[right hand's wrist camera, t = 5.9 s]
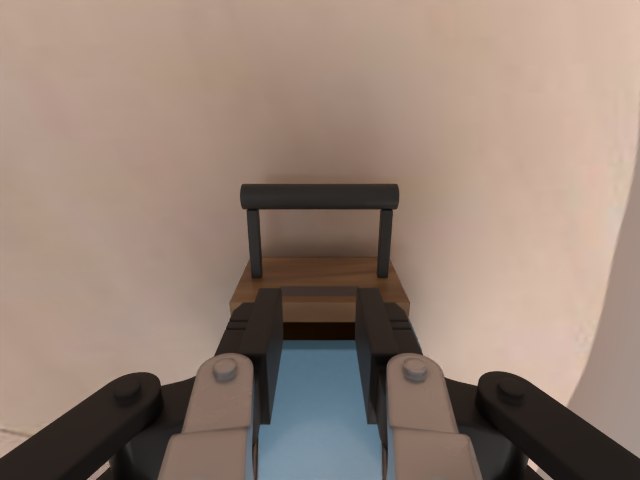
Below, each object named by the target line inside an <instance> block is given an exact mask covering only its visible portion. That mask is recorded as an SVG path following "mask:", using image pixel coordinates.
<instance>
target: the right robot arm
mask: <svg viewBox="0 0 640 480" xmlns="http://www.w3.org/2000/svg"><path fill="white" fill-rule="evenodd" d="M355 344H356V351H357V358H358V365H359V372H360V378H361V385H362V392H363V398H364V405H365V412H366V419H367V424H377V425H378V431H379V436H380V440H381V448H380V451H381V480H544V479H543V478H542V477H540V476H539V475H538V474H537V473H536V472H535V471H534V470H533V469H532V468H531V467H530V466H528V465H527V463H528V459H529V458H530V459H531V460H532V461H533V462H534V463H535V464H537V465H538V466H539V467H540V468H541V469H542V470H543V471H544V472H546V473H547V474H548V475H549V476H550V477H551V478H552V479H554V480H640V458H638V457H637V456H635V455H634V454H632V453H631V452H629V451H628V450H627V449H625V448H624V447H622V446H621V445H619V444H618V443H616V442H615V441H614V440H612V439H611V438H609V437H608V436H606V435H605V434H604V433H602V432H601V431H599V430H598V429H596V428H595V427H594V426H592V425H591V424H589V423H588V422H586V421H585V420H583V419H582V418H581V417H579V416H578V415H576V414H575V413H573V412H572V411H571V410H569V409H568V408H566V407H565V406H563V405H562V404H560V403H559V402H558V401H556V400H555V399H553V398H552V397H550V396H549V395H547V394H546V393H545V392H543V391H542V390H540V389H539V388H537V387H536V386H535V385H533V384H532V383H530V382H529V381H527V380H525V379H524V378H522V377H519V376H517V375H514V374H511V373H507V372H500V371H493V372H488V373H485V374H484V375H482V376H481V377H480V379H479V382H478V386H475V385H471V384H466V383H462V382H458V381H454V380H451V379H448V378H445V377H444V374H443V371H442V369H441V368H440V366H439V365H438V364H437V363H436V362H434V361H433V360H431V359H430V358H428V357H426V356H423V354H422V352H421V349H420V347H419V344H418V342H417V339H416V337H415V335H414V332H413V330H412V327H411V325H410V323H409V322H408V318H407V315H406V313H405V311H404V310H403V309H402V308H401V307H400V306H399V305H397V304H396V303H395V302H383V299H382V296H381V293H380V290H379V288H357V291H356V314H355ZM282 346H283V308H282V290H281V288H259V290H258V293H257V296H256V299H255V302H243V303H242V304H241V305H240V306H238V307H237V308H236V309H235V310H234V311H233V313H232V315H231V318H230V321H229V323H228V325H227V327H226V330H225V332H224V334H223V337H222V339H221V341H220V344H219V346H218V348H217V351H216V353H215V356H214V357H212V358H210V359H209V360H207V361H206V362H204V363H203V364H202V365H201V366H200V368H199V369H198V371H197V374H196V376H195V377H192V378H190V379H187V380H184V381H181V382H176V383H172V384H168V385H163V386H161V384H160V380H159V378H158V377H157V376H155V375H153V374H151V373H146V372H138V373H131V374H127V375H124V376H122V377H119V378H117V379H115V380H113V381H112V382H110V383H108V384H107V385H105V386H104V387H103V388H101V389H100V390H98V391H97V392H95V393H94V394H93V395H91V396H90V397H88V398H87V399H85V400H84V401H82V402H81V403H80V404H78V405H77V406H75V407H74V408H72V409H71V410H69V411H68V412H67V413H65V414H64V415H62V416H61V417H59V418H58V419H57V420H55V421H54V422H52V423H51V424H49V425H48V426H46V427H45V428H44V429H42V430H41V431H39V432H38V433H36V434H35V435H34V436H32V437H31V438H29V439H28V440H26V441H25V442H23V443H22V444H21V445H19V446H18V447H16V448H15V449H13V450H12V451H10V452H9V453H8V454H6V455H5V456H3V457H2V458H0V480H87V479H88V478H89V477H90V476H91V475H92V474H93V473H94V472H96V471H97V470H98V469H99V468H100V467H101V466H102V465H103V464H105V463H106V462H107V461H108V460H109V464H110V467H109V468H108V469H107V470H106V471H105V472H104V473H103V474H102V475H101V476H99V477H98V478H97V479H96V480H259V451H260V448H259V436H258V434H259V428H260V425H270V423H271V417H272V410H273V404H274V398H275V391H276V385H277V378H278V372H279V366H280V359H281V353H282Z"/></svg>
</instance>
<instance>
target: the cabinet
mask: <svg viewBox="0 0 640 480" xmlns="http://www.w3.org/2000/svg"><path fill="white" fill-rule="evenodd" d="M408 322H409V323H410V325H411V322H410V320H409V318H408ZM411 327H412V325H411ZM412 330H413V332H414V329H413V327H412ZM414 335H415V337H416V334H415V332H414ZM416 339H417V337H416ZM417 342H418V339H417ZM418 344H419V342H418ZM419 347H420V345H419ZM420 349H421V347H420ZM421 352H422V349H421ZM258 436H259V448H260V451H259V480H381V451H380V448H381V440H380V436H379V431H378V425H377V424H367V419H366V412H365V405H364V398H363V392H362V385H361V378H360V372H359V365H358V358H357V351H356V344H355V340H283V346H282V353H281V359H280V366H279V372H278V378H277V385H276V391H275V398H274V404H273V410H272V417H271V423H270V425H260V428H259V434H258Z"/></svg>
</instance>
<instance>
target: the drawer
mask: <svg viewBox="0 0 640 480" xmlns="http://www.w3.org/2000/svg"><path fill="white" fill-rule="evenodd" d="M240 200H241V206H242V208H243V209H248V210H247V223H248V237H249V251H250V260H249V262H248V264H247V266H246V268H245V271H244V273H243V275H242V277H241V279H240V281H239V283H238V286H237V288H236V290H235V292H234V294H233V296H232V299H231V301H230V312H231V315H232V313H233V311H234V310H235V309H236V308H237V307H238V306H240V305H241V304H242V303H243V302H255V299H256V296H257V293H258V290H259V288H281V290H282V308H283V340H355V314H356V291H357V288H379V290H380V293H381V296H382V299H383V302H395V303H396V304H397V305H399V306H400V307H401V308H402V309H403V310H404V311H405V313H406V315H407V318H408V316H409V306H410V302H409V300H408V298H407V295H406V293H405V291H404V289H403V287H402V285H401V282H400V280H399V278H398V276H397V274H396V272H395V269H394V267H393V265H392V263H391V261H390V259H389V258H390V244H391V230H392V216H393V210H392V209H397V207H398V203H399V188H398V185H397V184H242V186H241V191H240ZM259 209H380V226H379V243H378V257H262V252H261V236H260V219H259Z"/></svg>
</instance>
